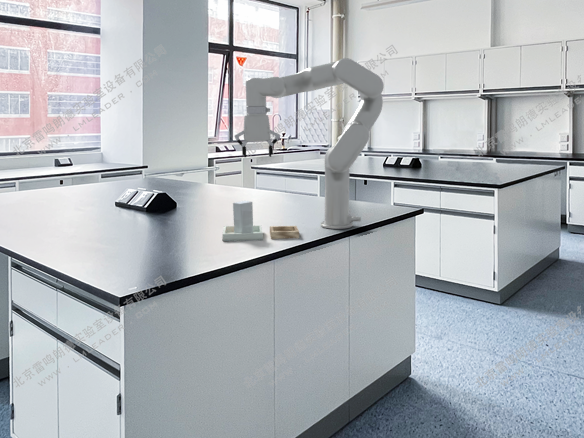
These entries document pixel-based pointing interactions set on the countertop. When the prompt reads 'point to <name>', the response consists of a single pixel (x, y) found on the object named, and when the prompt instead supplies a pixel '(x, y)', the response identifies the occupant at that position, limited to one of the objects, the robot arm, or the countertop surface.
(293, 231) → the wooden square frame
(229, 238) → the tray
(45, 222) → the countertop surface
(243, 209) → the skincare box
